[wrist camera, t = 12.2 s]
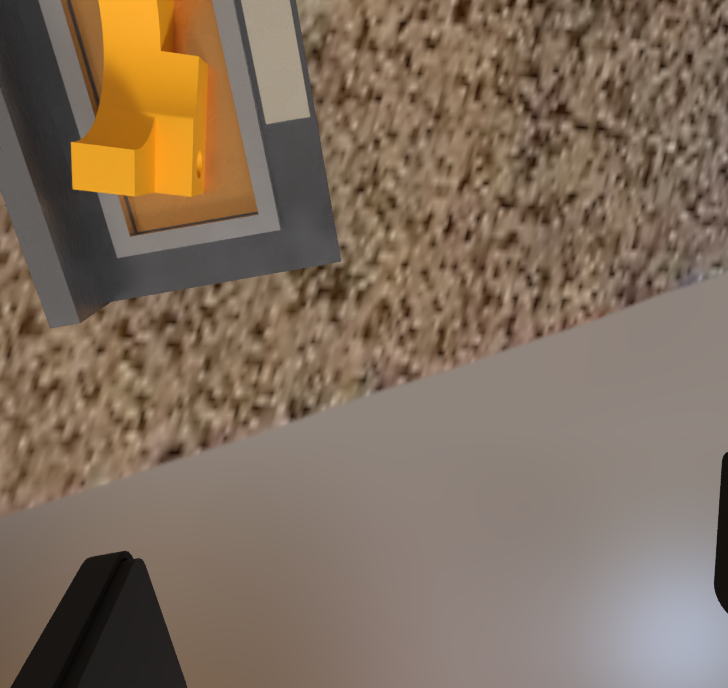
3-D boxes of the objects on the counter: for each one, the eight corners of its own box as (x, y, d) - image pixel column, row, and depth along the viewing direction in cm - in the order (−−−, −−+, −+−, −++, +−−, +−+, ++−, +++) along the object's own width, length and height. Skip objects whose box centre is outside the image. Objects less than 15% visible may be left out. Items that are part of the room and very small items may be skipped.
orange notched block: (203, 193, 31) (175, 201, 24) (122, 183, 30) (72, 189, 24) (212, -61, 27) (181, -126, 21) (119, -76, 26) (60, -148, 20)
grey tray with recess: (260, -196, 26) (247, -285, 21) (340, 258, 33) (345, 276, 28) (-57, -149, 26) (-150, -227, 21) (92, 302, 33) (50, 328, 28)
